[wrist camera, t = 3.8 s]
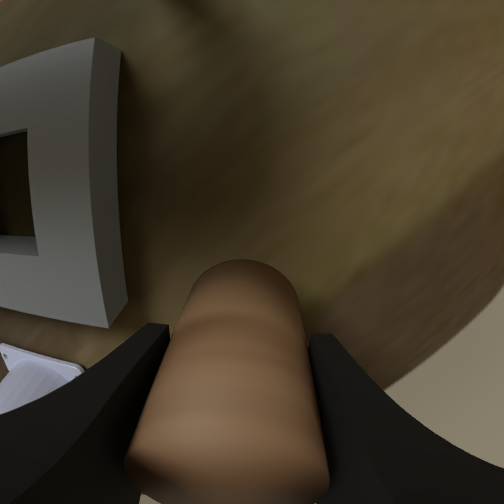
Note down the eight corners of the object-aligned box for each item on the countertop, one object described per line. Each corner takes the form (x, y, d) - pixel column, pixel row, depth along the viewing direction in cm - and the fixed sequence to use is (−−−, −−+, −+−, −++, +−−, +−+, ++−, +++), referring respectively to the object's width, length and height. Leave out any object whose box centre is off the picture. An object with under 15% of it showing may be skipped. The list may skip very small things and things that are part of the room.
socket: (128, 301, 15) (108, 328, 13) (-19, 278, 15) (-42, 295, 13) (121, 50, 11) (94, 37, 8) (-37, 98, 11) (-65, 100, 9)
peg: (292, 356, 12) (309, 521, 5) (190, 350, 12) (146, 508, 6) (305, 262, 11) (355, 437, 4) (186, 256, 11) (99, 416, 4)
